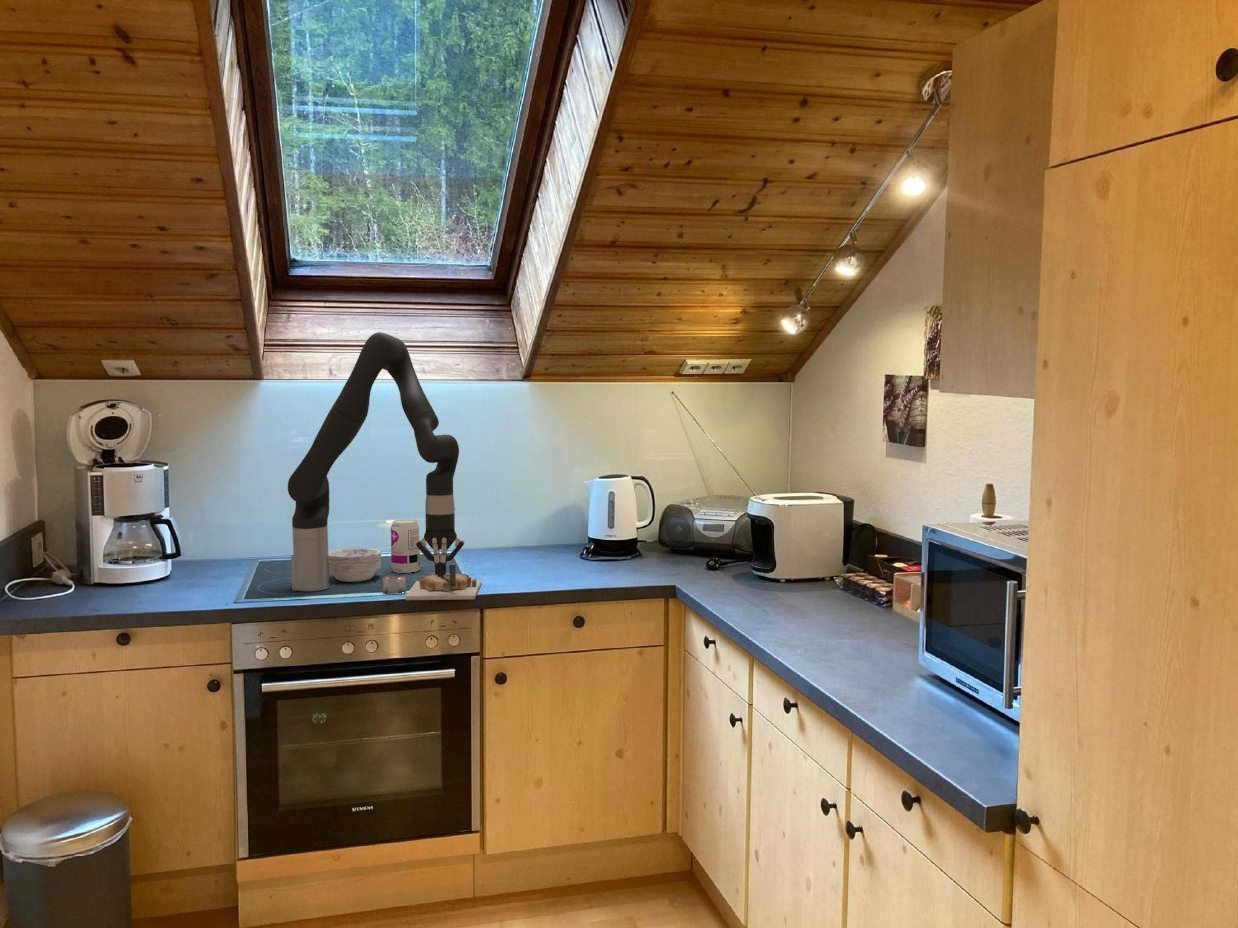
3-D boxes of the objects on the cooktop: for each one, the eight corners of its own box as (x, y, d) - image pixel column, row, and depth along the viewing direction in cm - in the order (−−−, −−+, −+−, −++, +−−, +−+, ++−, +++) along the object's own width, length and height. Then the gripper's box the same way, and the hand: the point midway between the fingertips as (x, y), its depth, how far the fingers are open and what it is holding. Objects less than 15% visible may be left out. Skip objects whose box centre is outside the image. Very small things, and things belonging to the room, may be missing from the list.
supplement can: (394, 575, 300) (393, 524, 298) (389, 569, 307) (388, 520, 306) (422, 572, 303) (421, 522, 301) (416, 567, 310) (415, 518, 309)
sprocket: (442, 594, 268) (442, 567, 268) (410, 584, 280) (409, 558, 280) (486, 586, 277) (485, 560, 277) (453, 577, 289) (452, 552, 289)
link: (404, 593, 276) (404, 578, 275) (382, 593, 276) (381, 578, 275) (406, 590, 279) (406, 575, 279) (384, 591, 279) (383, 576, 278)
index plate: (405, 600, 268) (405, 590, 268) (416, 584, 287) (416, 575, 287) (474, 599, 269) (474, 589, 268) (481, 583, 288) (481, 574, 287)
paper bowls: (371, 571, 305) (370, 545, 304) (389, 580, 292) (388, 553, 292) (320, 577, 297) (319, 550, 296) (336, 586, 284) (335, 558, 283)
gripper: (412, 513, 265) (413, 579, 267) (463, 513, 265) (464, 579, 267) (416, 509, 272) (417, 573, 274) (466, 509, 273) (467, 573, 275)
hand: (440, 576), depth 271 cm, fingers closed
